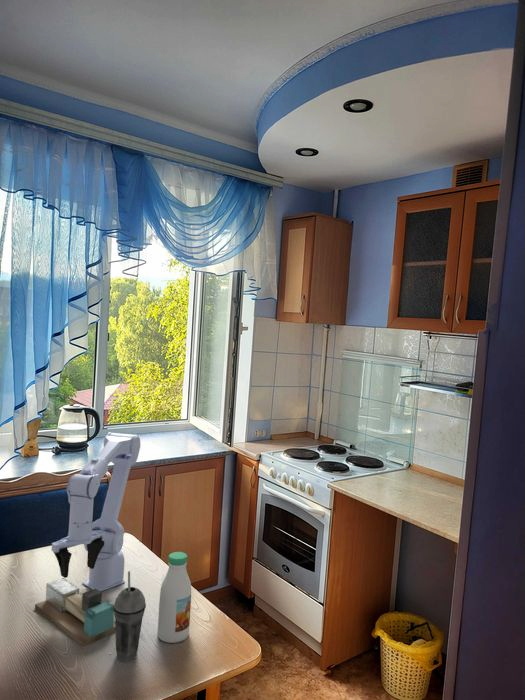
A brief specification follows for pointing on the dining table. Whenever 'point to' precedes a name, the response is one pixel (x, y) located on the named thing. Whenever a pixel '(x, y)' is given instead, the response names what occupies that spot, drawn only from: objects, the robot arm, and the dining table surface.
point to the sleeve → (59, 593)
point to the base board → (69, 623)
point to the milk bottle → (175, 601)
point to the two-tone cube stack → (82, 602)
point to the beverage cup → (128, 621)
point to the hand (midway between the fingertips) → (77, 571)
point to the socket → (98, 619)
